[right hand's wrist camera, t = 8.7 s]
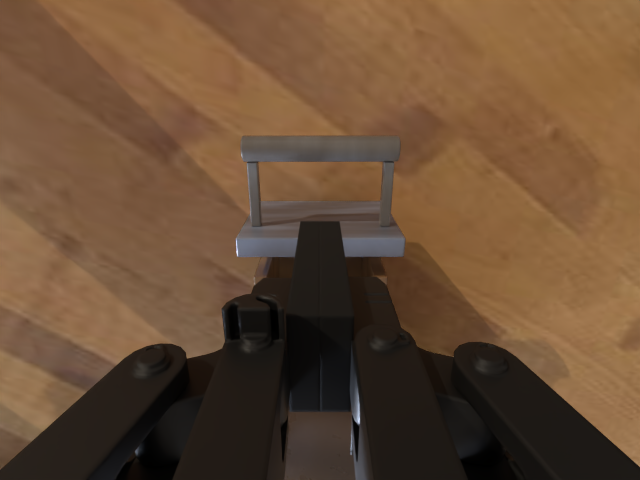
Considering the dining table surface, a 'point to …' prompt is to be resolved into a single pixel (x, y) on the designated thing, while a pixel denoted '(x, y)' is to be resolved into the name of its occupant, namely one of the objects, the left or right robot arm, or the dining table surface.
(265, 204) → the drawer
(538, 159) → the dining table surface
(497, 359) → the right robot arm
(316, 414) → the cabinet
